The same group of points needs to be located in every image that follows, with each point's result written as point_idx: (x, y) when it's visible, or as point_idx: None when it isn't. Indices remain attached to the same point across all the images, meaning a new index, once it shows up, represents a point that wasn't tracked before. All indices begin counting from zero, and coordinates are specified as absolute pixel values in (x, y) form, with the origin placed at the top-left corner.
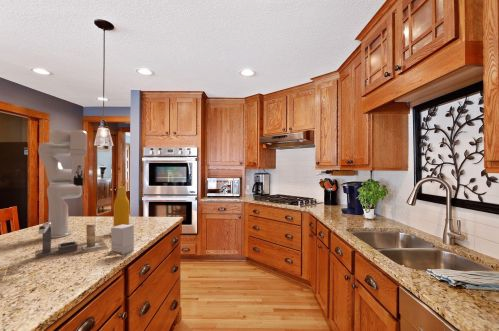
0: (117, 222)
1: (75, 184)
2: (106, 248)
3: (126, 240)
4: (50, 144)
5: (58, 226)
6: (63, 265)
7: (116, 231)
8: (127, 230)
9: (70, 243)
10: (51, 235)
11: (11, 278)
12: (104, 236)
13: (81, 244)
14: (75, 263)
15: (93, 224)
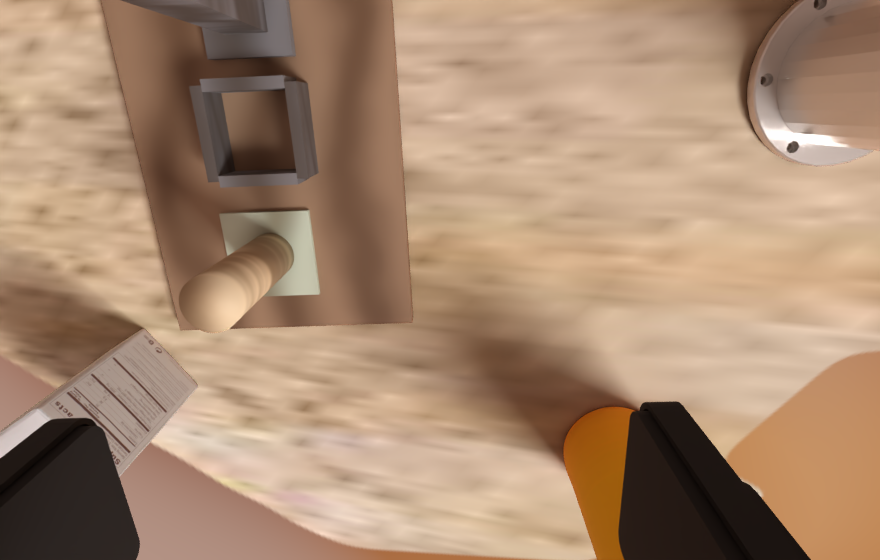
0: (597, 468)
1: (53, 434)
2: None
3: None
4: None
5: (831, 71)
6: (34, 105)
7: (19, 417)
8: None
9: (296, 149)
10: (808, 25)
11: None
12: (543, 345)
13: (365, 210)
14: (43, 161)
15: (195, 322)
